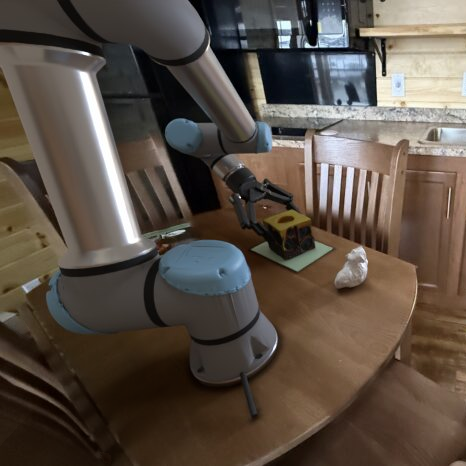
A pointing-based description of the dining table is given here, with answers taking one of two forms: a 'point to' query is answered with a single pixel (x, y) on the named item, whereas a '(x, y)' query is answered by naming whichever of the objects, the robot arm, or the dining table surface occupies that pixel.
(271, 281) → the dining table surface
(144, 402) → the dining table surface
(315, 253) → the napkin
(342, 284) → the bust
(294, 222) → the yellow and black cube
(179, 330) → the dining table surface
